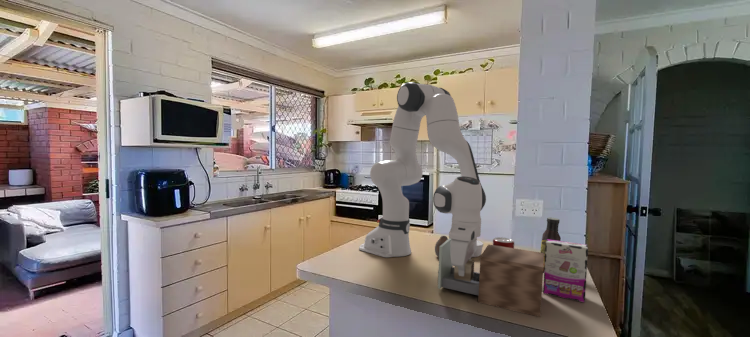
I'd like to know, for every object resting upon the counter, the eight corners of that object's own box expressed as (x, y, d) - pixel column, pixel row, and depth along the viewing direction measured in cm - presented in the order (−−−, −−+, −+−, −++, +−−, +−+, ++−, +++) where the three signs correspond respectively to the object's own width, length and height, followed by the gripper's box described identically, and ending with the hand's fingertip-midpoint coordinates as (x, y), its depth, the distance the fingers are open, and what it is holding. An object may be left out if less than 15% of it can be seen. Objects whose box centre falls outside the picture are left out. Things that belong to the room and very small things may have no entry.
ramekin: (450, 253, 138) (450, 241, 137) (464, 248, 145) (464, 236, 145) (473, 260, 129) (474, 247, 129) (487, 254, 137) (488, 242, 137)
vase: (433, 259, 129) (434, 237, 129) (436, 254, 136) (436, 233, 135) (450, 261, 127) (451, 239, 127) (452, 256, 133) (453, 235, 133)
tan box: (478, 302, 93) (480, 256, 92) (486, 284, 105) (488, 244, 105) (540, 317, 85) (543, 267, 85) (541, 296, 98) (543, 253, 97)
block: (470, 281, 98) (471, 265, 98) (454, 278, 101) (454, 262, 100) (473, 276, 103) (474, 260, 102) (457, 273, 105) (458, 258, 105)
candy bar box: (584, 297, 99) (588, 244, 98) (585, 303, 94) (589, 248, 93) (543, 287, 104) (546, 238, 103) (542, 293, 100) (545, 241, 99)
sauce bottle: (536, 270, 120) (539, 217, 119) (541, 266, 124) (544, 215, 123) (556, 275, 115) (559, 220, 114) (560, 271, 120) (563, 218, 119)
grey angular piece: (437, 288, 99) (439, 246, 98) (449, 273, 111) (451, 236, 110) (489, 300, 91) (491, 255, 91) (496, 283, 104) (498, 243, 103)
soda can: (514, 277, 113) (516, 243, 112) (492, 274, 114) (494, 241, 114) (510, 269, 120) (512, 238, 119) (489, 267, 121) (491, 236, 121)
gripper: (463, 221, 112) (461, 260, 112) (447, 234, 93) (445, 280, 94) (482, 223, 109) (480, 264, 109) (469, 237, 91) (467, 285, 91)
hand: (464, 272), depth 102 cm, fingers closed on block, 5 cm apart
